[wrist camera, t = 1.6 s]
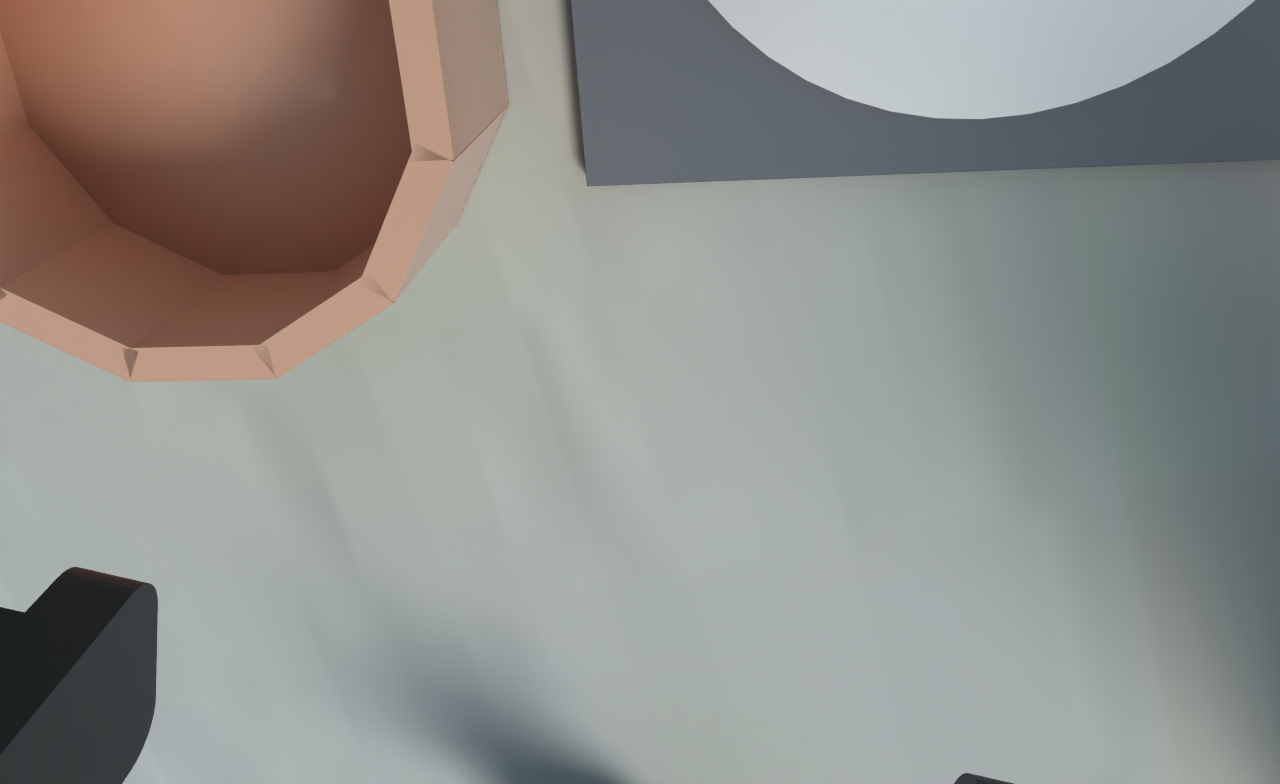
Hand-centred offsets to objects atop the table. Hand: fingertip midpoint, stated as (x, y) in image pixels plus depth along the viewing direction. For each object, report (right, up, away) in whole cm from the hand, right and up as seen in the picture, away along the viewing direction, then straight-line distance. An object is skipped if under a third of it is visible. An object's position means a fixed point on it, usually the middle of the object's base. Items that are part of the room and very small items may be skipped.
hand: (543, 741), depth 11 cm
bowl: (-10, +13, +19) cm, 24 cm away
